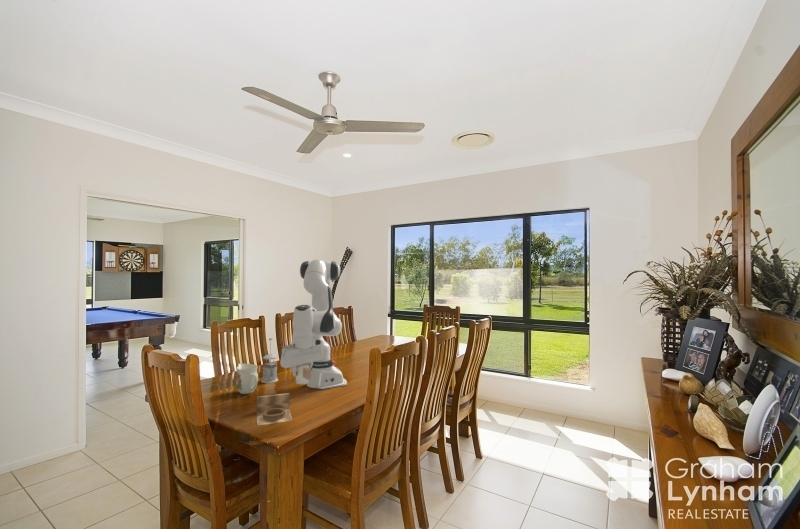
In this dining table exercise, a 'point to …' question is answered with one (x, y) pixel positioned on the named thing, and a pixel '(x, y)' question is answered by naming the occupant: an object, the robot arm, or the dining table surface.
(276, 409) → the stand
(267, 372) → the french press
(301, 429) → the dining table surface
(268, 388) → the dining table surface
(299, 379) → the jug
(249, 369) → the pitcher
